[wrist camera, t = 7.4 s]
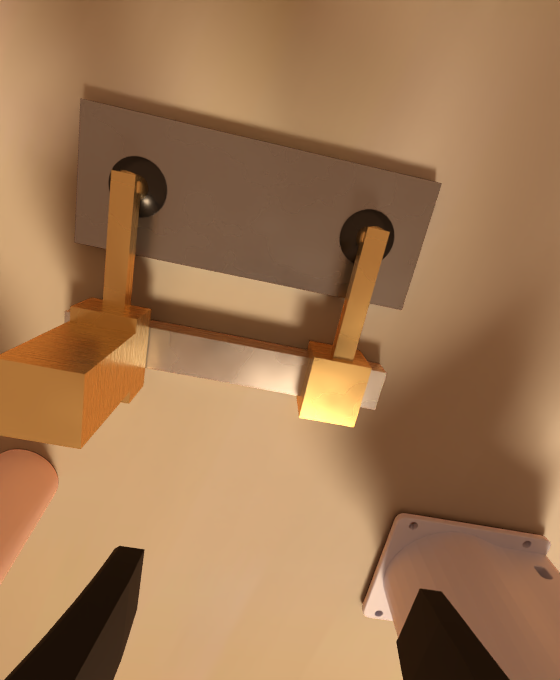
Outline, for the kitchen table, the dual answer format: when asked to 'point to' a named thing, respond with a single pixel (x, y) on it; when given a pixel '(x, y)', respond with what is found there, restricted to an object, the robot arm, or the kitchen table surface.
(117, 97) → the kitchen table surface
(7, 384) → the orange block with stem
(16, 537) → the smoothie
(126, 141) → the flange plate
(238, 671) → the kitchen table surface
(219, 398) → the kitchen table surface
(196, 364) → the dividers bar
